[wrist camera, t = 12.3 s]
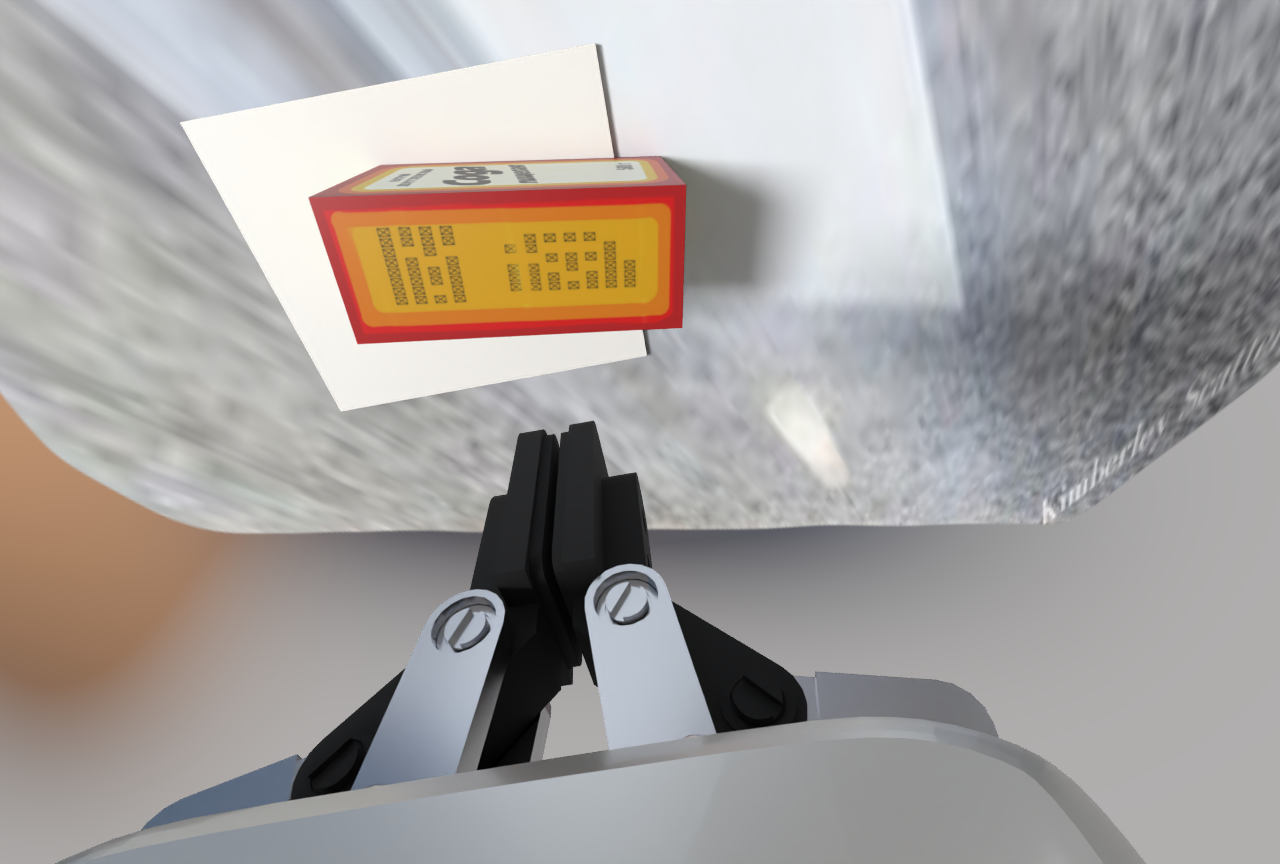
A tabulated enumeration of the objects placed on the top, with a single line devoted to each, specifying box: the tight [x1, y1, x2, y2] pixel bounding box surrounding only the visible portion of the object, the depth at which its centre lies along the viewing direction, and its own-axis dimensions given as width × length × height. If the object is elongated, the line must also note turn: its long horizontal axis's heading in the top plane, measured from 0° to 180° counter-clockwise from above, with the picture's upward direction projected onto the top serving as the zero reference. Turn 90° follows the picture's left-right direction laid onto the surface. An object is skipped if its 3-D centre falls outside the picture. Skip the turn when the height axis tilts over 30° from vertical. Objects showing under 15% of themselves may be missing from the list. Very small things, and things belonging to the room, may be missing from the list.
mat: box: [180, 43, 647, 411], centre depth 33 cm, size 22×18×1 cm
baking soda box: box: [308, 156, 686, 344], centre depth 28 cm, size 10×6×16 cm
